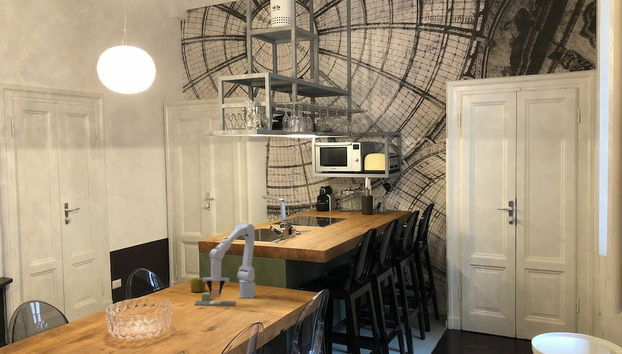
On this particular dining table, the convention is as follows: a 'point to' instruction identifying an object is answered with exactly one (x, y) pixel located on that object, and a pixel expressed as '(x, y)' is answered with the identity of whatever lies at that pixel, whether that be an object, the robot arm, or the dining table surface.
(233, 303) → the baseplate
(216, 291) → the terracotta brick
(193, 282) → the mug
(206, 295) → the green brick
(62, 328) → the dining table surface
